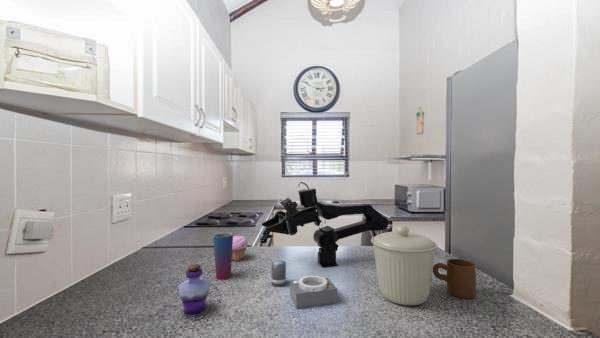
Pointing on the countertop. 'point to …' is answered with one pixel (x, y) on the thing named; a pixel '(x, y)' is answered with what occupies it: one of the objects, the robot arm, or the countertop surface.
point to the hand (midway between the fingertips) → (264, 227)
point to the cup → (223, 254)
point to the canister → (404, 265)
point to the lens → (278, 273)
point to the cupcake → (238, 247)
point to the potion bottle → (194, 290)
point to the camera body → (312, 291)
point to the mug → (458, 277)
